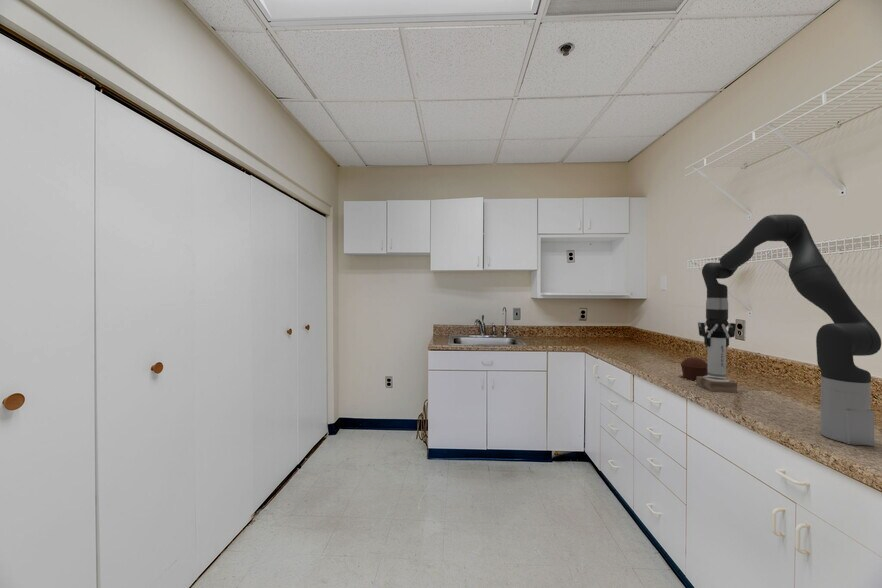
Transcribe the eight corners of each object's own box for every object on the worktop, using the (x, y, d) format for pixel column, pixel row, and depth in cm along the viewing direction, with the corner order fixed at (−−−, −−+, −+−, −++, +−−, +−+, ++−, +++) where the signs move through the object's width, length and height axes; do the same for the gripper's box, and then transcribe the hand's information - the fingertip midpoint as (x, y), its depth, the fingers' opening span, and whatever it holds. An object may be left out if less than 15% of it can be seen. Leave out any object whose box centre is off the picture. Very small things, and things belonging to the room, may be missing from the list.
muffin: (709, 383, 156) (709, 361, 156) (680, 379, 163) (680, 358, 163) (708, 378, 165) (709, 357, 165) (681, 374, 172) (681, 355, 172)
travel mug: (706, 373, 152) (706, 328, 152) (725, 375, 147) (725, 329, 147) (706, 375, 147) (706, 329, 147) (726, 378, 143) (726, 330, 143)
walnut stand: (737, 392, 142) (737, 381, 142) (710, 391, 143) (711, 380, 143) (720, 385, 152) (720, 375, 152) (696, 384, 153) (696, 375, 153)
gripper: (704, 308, 144) (704, 347, 144) (741, 308, 142) (741, 348, 142) (693, 307, 152) (693, 344, 152) (729, 308, 150) (728, 345, 150)
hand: (716, 346), depth 147 cm, fingers closed on travel mug, 6 cm apart
